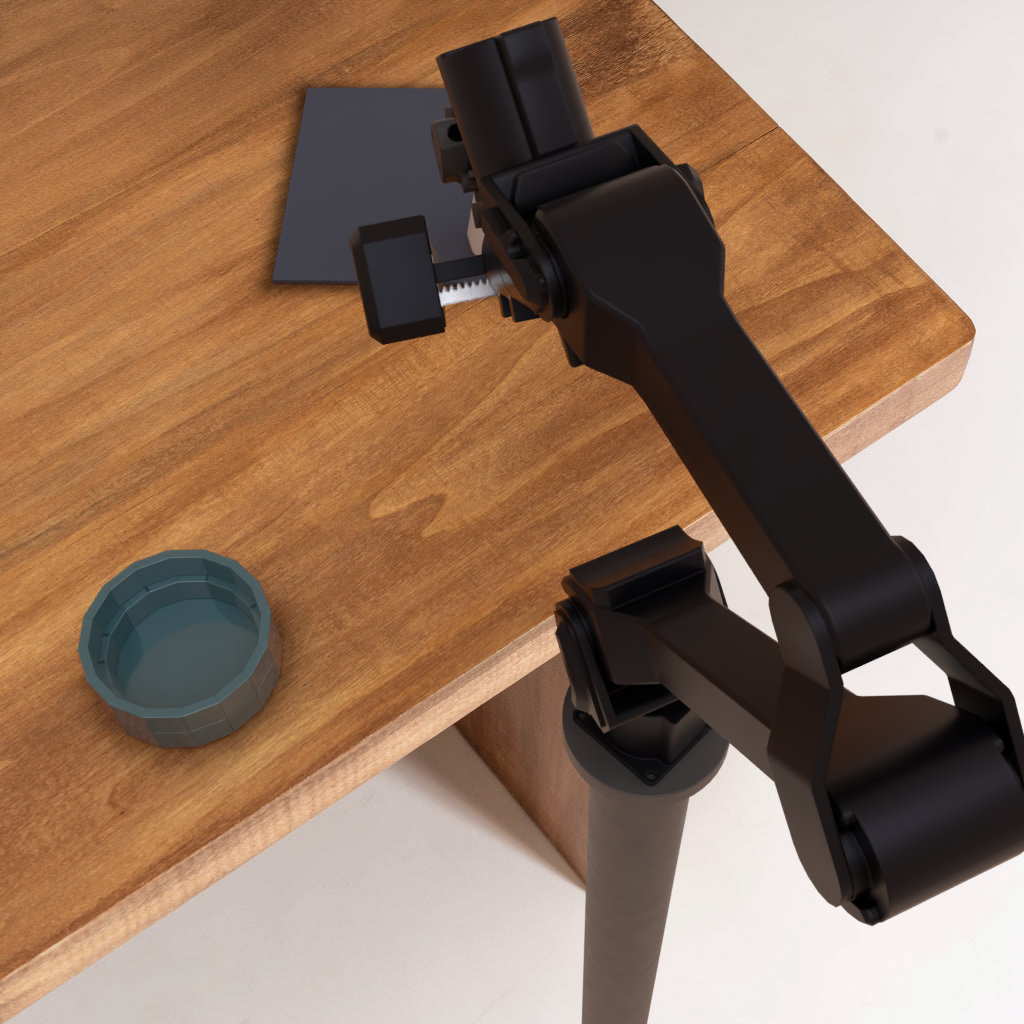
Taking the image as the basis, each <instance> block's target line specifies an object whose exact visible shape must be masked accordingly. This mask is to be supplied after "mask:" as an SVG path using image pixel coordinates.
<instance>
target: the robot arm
mask: <svg viewBox="0 0 1024 1024" xmlns="http://www.w3.org/2000/svg"><path fill="white" fill-rule="evenodd" d="M557 17H558V16H553V17H550V18H545V19H543V20H536V21H533V22H530V23H527V24H524V25H521V26H518V27H515V28H512V29H508V30H506V31H503V32H502V31H501V32H500V33H499V34H497V35H494V36H491V37H488V38H485V39H481V40H479V41H475V42H473V43H470V44H466V45H463V46H460V47H458V48H457V47H456V48H455V49H451V50H448V51H445V52H442V53H440V54H438V55H437V56H435V61H436V64H437V68H438V71H439V73H440V77H441V79H442V82H443V85H444V88H446V91H447V94H448V97H449V100H450V103H451V107H450V106H448V107H444V112H445V118H444V119H441V120H435V121H433V122H432V123H431V137H432V143H433V148H434V152H435V156H436V161H437V165H438V169H439V174H440V178H441V181H442V182H443V183H444V184H446V183H452V182H458V183H460V184H461V187H462V190H463V193H468V192H474V196H475V202H476V203H471V208H472V213H473V219H474V224H475V228H476V229H478V228H482V231H483V233H484V234H485V235H484V239H483V243H482V252H481V254H479V255H474V256H469V257H464V258H459V259H454V260H449V261H444V262H439V261H438V256H437V252H436V251H435V249H434V247H433V245H432V243H431V240H430V236H429V232H428V228H427V224H426V220H425V216H422V215H416V216H411V217H406V218H401V219H396V220H391V221H385V222H380V223H375V224H370V225H365V226H360V227H357V228H356V229H355V231H354V233H353V234H352V236H351V237H350V239H349V243H350V247H351V252H352V257H353V262H354V266H355V271H356V276H357V281H358V284H357V285H358V290H359V294H360V299H361V304H362V310H363V314H364V317H365V318H364V319H365V322H366V323H365V324H366V327H367V333H368V335H369V337H370V338H372V339H373V340H375V341H376V342H377V343H379V344H381V345H382V346H385V345H386V346H387V345H390V344H391V345H392V344H395V343H400V342H405V341H410V340H415V339H419V338H425V337H430V336H435V335H441V334H445V333H446V327H447V318H446V316H447V315H446V306H451V305H456V304H461V303H466V302H470V301H471V302H472V301H477V300H481V299H487V298H491V297H497V298H498V303H499V309H500V314H501V318H504V319H506V318H512V319H511V320H512V323H516V324H518V323H522V322H527V321H532V320H537V319H541V320H542V321H544V322H545V323H550V322H552V324H553V325H554V327H555V328H556V329H557V332H558V335H559V338H560V341H561V345H562V347H563V350H564V353H565V357H566V359H567V362H568V364H569V366H570V367H571V368H572V369H576V368H579V367H581V366H585V367H587V368H589V369H591V370H593V371H595V372H598V373H601V374H603V375H605V376H609V377H610V378H613V379H615V380H617V381H620V382H622V383H624V384H627V385H629V386H631V387H632V388H633V390H634V391H635V392H636V394H637V395H638V397H639V398H640V399H641V400H642V401H643V403H644V404H645V405H646V407H647V409H648V410H649V412H650V414H651V415H652V416H653V418H654V420H655V421H656V423H657V425H658V427H660V429H661V431H662V433H663V435H664V436H665V437H666V438H667V440H668V442H669V443H670V445H671V446H672V448H673V450H674V451H675V453H676V455H677V456H678V457H679V459H680V461H681V462H682V464H683V465H684V468H686V470H687V472H688V473H689V475H690V477H691V478H692V480H693V481H694V482H695V484H696V486H697V488H698V489H699V490H700V492H701V494H702V495H703V497H704V498H705V501H706V502H707V503H708V504H709V506H710V508H711V509H712V511H713V512H714V514H715V516H716V517H717V519H718V520H719V522H720V523H721V525H722V527H723V528H724V530H725V531H726V533H727V535H728V537H729V538H730V539H731V541H732V542H733V544H734V546H735V547H736V549H737V550H738V552H739V554H740V555H741V557H742V558H743V560H744V562H745V563H746V565H747V566H748V567H749V569H750V571H751V572H752V574H753V575H754V577H755V579H756V580H757V582H758V583H759V585H760V586H761V588H762V590H763V591H764V593H765V594H766V596H767V597H768V605H767V606H768V610H769V615H770V619H771V624H772V626H773V629H774V630H773V631H774V633H775V636H776V639H777V640H776V639H775V638H773V637H771V636H770V635H768V634H767V633H766V632H764V631H763V630H761V629H759V628H758V627H757V626H756V625H754V624H752V623H751V622H749V621H748V620H747V619H745V618H743V617H742V616H740V615H739V614H737V613H736V612H734V611H733V610H732V609H730V608H729V606H728V602H727V599H726V596H725V592H724V590H723V586H722V584H721V580H720V577H719V575H718V572H717V570H716V567H715V566H714V563H713V562H712V560H711V558H710V557H709V556H708V554H707V552H706V550H705V545H704V541H702V540H698V539H695V538H693V537H691V536H690V535H689V534H688V533H687V532H686V531H684V529H683V528H682V526H680V524H679V523H678V524H674V525H673V526H670V527H667V528H665V529H663V530H661V531H658V532H656V533H653V534H650V535H648V536H646V537H644V538H641V539H638V540H637V541H634V542H631V543H629V544H626V545H624V546H622V547H619V548H618V549H614V550H612V551H610V552H607V553H605V554H602V555H600V556H598V557H595V558H592V559H590V560H588V561H586V562H583V563H580V564H578V565H576V566H574V567H571V568H568V572H569V574H567V575H566V576H564V577H562V579H561V581H560V585H561V587H562V590H563V591H564V593H565V594H566V595H567V596H568V597H566V598H564V599H561V600H560V601H557V602H555V605H554V608H555V609H554V611H553V615H554V620H555V624H556V630H555V633H554V635H555V639H556V642H557V645H558V648H559V649H558V650H559V652H560V656H561V658H562V662H563V665H564V668H565V671H566V674H567V679H568V681H569V682H568V683H569V685H570V686H571V700H572V702H573V704H574V706H575V708H576V709H575V710H574V712H573V721H574V722H575V723H576V724H577V725H578V726H579V727H580V728H581V729H582V730H584V731H585V732H586V733H587V734H588V735H589V736H590V737H592V738H593V739H594V740H595V741H596V742H597V743H598V744H600V745H601V746H602V747H603V748H604V749H605V750H606V751H608V752H609V753H610V754H611V755H612V756H613V757H614V758H616V759H617V760H618V761H619V762H620V763H621V764H623V765H624V766H625V767H626V768H627V769H628V770H629V771H631V772H632V773H633V774H634V775H635V776H636V777H637V778H639V779H640V780H641V781H642V782H643V783H644V784H645V785H647V786H651V787H652V786H655V785H657V784H658V783H659V782H660V781H661V780H662V779H663V778H664V777H665V776H666V775H667V774H668V773H669V772H670V771H671V770H672V769H673V768H674V767H675V766H676V765H677V764H678V763H679V762H680V761H681V760H682V759H683V758H684V757H685V756H686V755H687V754H688V753H689V751H690V750H691V749H692V748H693V747H694V746H695V745H696V744H697V743H698V742H699V741H700V740H701V739H702V738H703V737H704V736H705V735H706V734H707V733H708V732H709V731H710V730H711V729H712V728H713V729H714V730H715V731H716V732H717V733H719V734H720V735H721V736H722V737H723V738H724V739H725V740H727V741H728V742H729V743H730V744H729V745H731V746H732V747H733V748H734V749H735V750H737V751H738V752H739V753H740V754H741V755H742V756H743V757H744V758H746V759H747V760H748V761H750V763H751V764H753V766H755V767H756V768H758V770H759V771H760V772H762V773H763V774H764V775H765V776H766V777H768V779H770V780H771V781H772V782H773V783H774V785H775V789H776V792H777V796H778V799H779V802H780V805H781V808H782V809H781V810H782V812H783V815H784V818H785V822H786V825H787V828H788V832H789V835H790V838H791V841H792V844H793V847H794V850H795V852H796V855H797V857H798V860H799V862H800V864H801V866H802V868H803V870H804V872H805V873H806V876H807V878H808V879H809V881H810V882H811V884H812V885H813V886H814V889H815V890H816V891H817V893H818V894H819V895H820V896H821V898H823V899H824V900H825V902H826V903H827V904H829V905H831V906H833V907H834V908H839V907H841V908H842V909H843V910H844V911H845V912H846V913H847V914H849V916H851V918H854V919H855V920H856V921H858V922H860V923H862V924H864V925H867V926H870V927H873V926H876V925H877V924H880V923H884V922H887V921H888V920H890V919H892V918H894V917H896V916H898V915H900V914H903V913H905V912H907V911H909V910H910V909H913V908H915V907H917V906H919V905H921V904H923V903H925V902H927V901H929V900H931V899H933V898H935V897H937V896H939V895H941V894H943V893H945V892H947V891H949V890H952V889H953V888H955V887H957V886H960V885H962V884H963V883H966V882H967V881H970V880H971V879H974V878H976V877H978V876H980V875H982V874H984V873H986V872H988V871H989V870H991V869H994V868H996V867H998V866H1000V865H1002V864H1005V863H1006V862H1008V861H1010V860H1013V859H1014V858H1016V857H1018V856H1020V855H1021V854H1023V853H1024V729H1023V725H1022V721H1021V718H1020V712H1019V710H1018V706H1017V702H1016V698H1015V696H1014V693H1013V692H1012V691H1011V689H1010V688H1009V686H1007V685H1006V684H1005V683H1004V682H1003V681H1002V680H1001V679H999V678H998V677H997V676H996V674H994V673H993V672H992V671H991V670H990V669H989V668H988V667H987V666H986V665H985V664H983V662H982V661H980V660H979V659H978V658H977V657H976V656H975V655H974V654H973V653H971V651H969V650H968V649H967V648H966V647H965V645H963V644H962V643H961V642H960V641H959V640H958V639H957V638H956V637H955V636H954V635H953V631H952V628H951V627H952V626H951V624H950V620H949V617H948V612H947V609H946V605H945V601H944V596H943V594H942V591H941V587H940V585H939V581H938V580H937V576H936V574H935V571H934V570H933V568H932V566H931V565H930V563H929V562H928V560H927V558H926V556H925V554H923V553H922V551H921V550H920V549H919V548H918V547H917V545H915V543H914V542H913V541H912V540H909V539H908V538H906V537H904V536H903V535H900V534H899V535H897V534H896V535H891V534H890V532H889V531H888V530H887V528H886V527H885V525H884V524H883V523H882V522H881V520H880V519H879V517H878V516H877V515H876V513H875V512H874V510H873V508H872V507H871V506H870V504H869V503H868V502H867V500H866V498H865V497H864V496H863V495H862V493H861V492H860V490H859V489H858V488H857V486H856V485H855V482H854V481H853V480H852V479H851V478H850V476H849V474H848V473H847V472H846V470H845V469H844V468H843V466H842V464H841V463H840V462H839V461H838V459H837V458H836V456H835V454H834V453H833V452H832V451H831V449H830V448H829V447H828V445H827V444H826V442H825V441H824V439H823V438H822V437H821V435H820V434H819V433H818V431H817V430H816V428H815V426H814V425H813V424H812V422H811V421H810V419H809V418H808V417H807V415H806V414H805V413H804V411H803V410H802V408H801V407H800V405H799V404H798V403H797V401H796V400H795V399H794V397H793V395H792V394H791V393H790V392H789V391H790V390H788V389H787V387H786V386H785V384H784V383H783V381H782V380H781V379H780V377H779V376H778V374H777V373H776V372H775V370H774V369H773V367H772V366H771V365H770V363H769V362H768V361H767V359H766V357H765V356H764V354H763V353H762V352H761V349H759V348H758V346H757V345H756V343H755V342H754V340H753V339H752V338H751V336H750V335H749V334H748V332H747V331H746V329H745V328H744V327H743V325H742V323H741V322H740V321H739V319H738V318H737V315H736V314H735V312H734V311H733V309H732V307H731V306H730V304H729V302H728V300H727V299H726V297H725V279H726V277H725V274H726V273H725V272H726V253H727V251H726V245H725V243H724V241H723V239H722V238H721V236H720V234H719V232H718V231H717V229H716V225H715V220H714V218H713V215H712V211H711V209H710V207H709V205H708V203H707V202H706V201H707V200H706V196H705V191H704V183H703V180H702V178H701V176H700V174H699V172H698V171H697V169H695V168H694V167H693V166H692V165H691V164H689V163H688V162H684V163H679V164H675V163H674V162H673V161H672V160H671V158H669V156H668V155H667V154H666V153H665V152H664V151H663V150H662V149H661V148H660V147H659V145H658V144H656V142H655V141H654V140H653V139H652V138H651V137H650V135H648V133H646V132H645V130H644V129H643V128H642V127H641V126H640V125H639V123H633V124H629V125H627V126H624V127H620V128H619V129H616V130H612V131H609V132H607V133H604V134H601V135H598V136H595V134H594V130H593V127H592V124H591V121H590V118H589V114H588V111H587V107H586V105H585V101H584V99H583V96H582V91H581V89H580V86H579V82H578V79H577V75H576V73H575V70H574V67H573V63H572V59H571V56H570V54H569V50H568V47H567V45H566V40H565V37H564V34H563V31H562V28H561V25H560V22H559V19H558V18H557ZM482 274H485V275H486V277H487V278H486V281H485V283H483V281H482V279H479V281H478V285H477V284H476V283H475V281H474V280H472V281H471V286H469V285H468V283H467V282H464V286H463V287H462V286H461V285H460V283H457V286H455V287H454V286H453V285H450V286H448V288H446V285H443V282H447V281H452V280H457V279H462V278H467V277H472V276H477V275H482ZM912 644H913V645H914V646H915V647H916V648H917V649H918V650H919V651H920V652H921V653H922V654H923V655H925V656H926V657H927V658H928V659H929V660H930V661H931V662H932V663H933V664H934V665H935V666H936V667H938V668H939V669H940V670H941V671H942V672H943V673H944V674H945V676H946V677H947V681H948V686H949V688H950V692H951V696H952V701H953V704H952V703H948V702H946V701H943V700H941V699H938V698H935V697H933V696H931V695H927V694H895V695H894V694H893V695H891V694H889V695H857V694H856V693H854V692H853V691H851V690H850V689H848V688H847V687H845V684H844V683H845V682H844V679H843V676H842V675H845V674H848V673H849V672H851V671H854V670H856V669H858V668H860V667H862V666H865V665H867V664H869V663H872V662H874V661H876V660H879V659H880V658H882V657H885V656H887V655H889V654H892V653H894V652H895V651H898V650H900V649H903V648H905V647H907V646H909V645H912ZM579 714H584V715H585V718H583V719H580V718H578V717H577V716H578V715H579ZM649 774H652V775H654V776H655V779H653V780H650V779H648V778H647V776H648V775H649Z"/></svg>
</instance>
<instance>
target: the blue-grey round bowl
mask: <svg viewBox="0 0 1024 1024" xmlns="http://www.w3.org/2000/svg"><path fill="white" fill-rule="evenodd" d="M94 597H95V598H94V599H93V600H92V602H91V604H90V605H89V607H88V608H87V610H86V612H85V613H84V614H83V617H82V622H81V623H82V624H81V628H80V634H79V639H78V645H77V653H78V657H79V660H80V664H81V667H82V671H83V675H84V678H85V681H86V683H87V684H88V686H89V688H90V689H91V690H92V692H93V694H94V695H95V697H96V699H97V700H98V702H99V703H100V705H101V706H102V708H103V710H104V711H105V713H106V714H107V715H108V716H109V717H110V718H111V719H112V720H113V721H114V722H115V723H116V724H117V725H118V726H119V728H121V729H122V730H123V732H124V733H126V735H128V736H129V737H132V738H134V739H137V740H140V741H142V742H145V743H148V744H150V745H152V746H155V747H158V748H198V747H201V746H203V745H206V744H208V743H211V742H214V741H216V740H219V739H221V738H224V737H227V736H230V735H232V734H234V733H235V732H236V731H238V730H239V729H240V728H242V726H243V725H245V724H246V723H247V722H248V721H249V720H251V719H252V718H253V717H254V716H255V715H256V714H257V713H259V711H261V710H262V709H263V708H264V706H265V704H266V703H267V701H268V699H269V697H270V695H271V693H272V692H273V690H274V689H275V687H276V685H277V683H278V682H279V681H278V680H279V679H280V677H281V667H282V657H283V640H282V638H281V635H280V632H279V630H278V627H277V624H276V621H275V618H274V615H273V613H272V609H271V607H270V605H269V603H268V599H267V597H266V594H265V591H264V589H263V586H262V584H261V583H260V581H259V580H258V579H257V578H256V576H254V575H253V574H252V573H251V572H250V571H249V570H247V569H246V567H245V566H243V565H242V564H241V563H240V562H239V561H237V560H236V559H233V558H230V557H227V556H225V555H222V554H219V553H216V552H214V551H210V550H207V549H203V548H201V549H200V548H199V549H166V550H164V551H161V552H159V553H156V554H153V555H150V556H147V557H144V558H141V559H139V560H136V561H133V562H132V563H130V564H129V565H128V566H126V567H125V568H124V569H123V570H121V571H119V572H118V574H116V575H115V576H113V577H112V578H111V579H110V580H108V581H107V582H106V583H105V584H103V586H101V588H100V589H99V591H98V592H97V594H96V596H94Z"/></svg>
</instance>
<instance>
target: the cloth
mask: <svg viewBox="0 0 1024 1024" xmlns="http://www.w3.org/2000/svg"><path fill="white" fill-rule="evenodd" d="M448 106H450V107H451V103H450V100H449V97H448V94H447V91H446V88H445V87H444V88H443V87H439V88H438V87H436V88H435V87H307V88H306V93H305V98H304V103H303V108H302V115H301V120H300V125H299V131H298V136H297V142H296V148H295V152H294V159H293V163H292V169H291V174H290V180H289V184H288V185H289V186H288V190H287V196H286V202H285V207H284V213H283V217H282V218H283V219H282V223H281V229H280V235H279V240H278V246H277V251H276V256H275V263H274V267H273V271H272V272H273V273H272V277H271V281H272V283H273V284H300V285H302V284H303V285H305V284H306V285H358V281H357V276H356V271H355V266H354V262H353V257H352V252H351V247H350V243H349V239H350V237H351V236H352V234H353V233H354V231H355V229H356V228H357V227H360V226H365V225H370V224H375V223H380V222H385V221H391V220H396V219H401V218H406V217H411V216H416V215H422V216H425V220H426V224H427V228H428V232H429V236H430V240H431V243H432V245H433V247H434V249H435V251H436V252H437V256H438V261H439V262H444V261H449V260H454V259H459V258H464V257H469V256H474V255H475V254H474V253H473V252H472V249H471V245H470V242H469V238H468V235H467V231H468V225H469V219H470V213H471V203H472V201H473V195H474V192H468V193H463V190H462V187H461V184H460V183H458V182H452V183H446V184H444V183H443V182H442V181H441V178H440V174H439V169H438V165H437V161H436V156H435V152H434V148H433V143H432V137H431V123H432V122H433V121H435V120H441V119H444V118H445V112H444V107H448ZM486 278H487V277H486V275H485V274H482V275H477V276H472V277H467V278H462V279H457V280H452V281H447V282H443V286H445V287H446V286H448V287H449V286H450V285H453V287H454V286H455V287H456V286H457V283H460V285H461V287H462V286H463V287H464V282H467V283H468V285H469V286H471V281H472V280H474V281H475V283H476V284H477V285H478V281H479V279H482V281H483V283H485V281H486Z"/></svg>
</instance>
